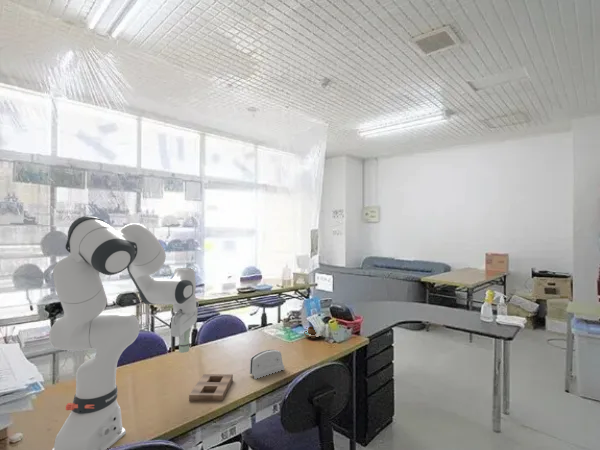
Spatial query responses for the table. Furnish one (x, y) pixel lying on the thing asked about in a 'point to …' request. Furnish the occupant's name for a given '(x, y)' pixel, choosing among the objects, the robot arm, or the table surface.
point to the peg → (184, 346)
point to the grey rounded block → (266, 363)
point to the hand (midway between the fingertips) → (184, 340)
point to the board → (211, 387)
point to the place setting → (310, 332)
